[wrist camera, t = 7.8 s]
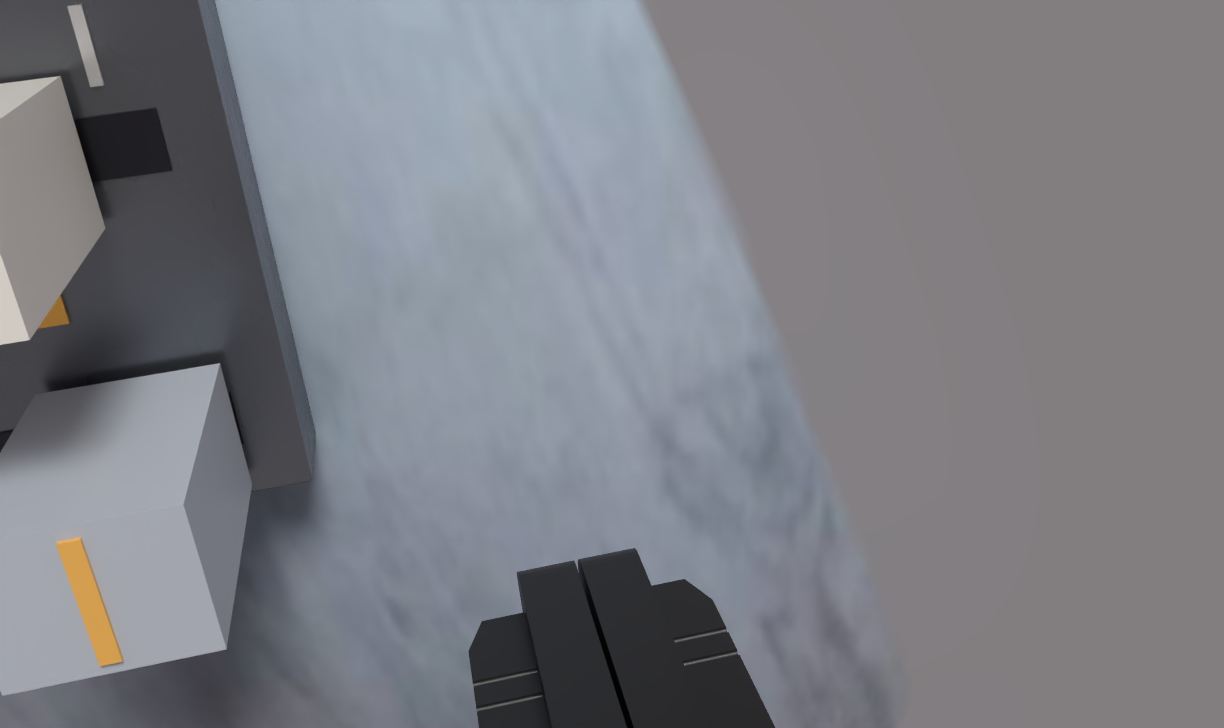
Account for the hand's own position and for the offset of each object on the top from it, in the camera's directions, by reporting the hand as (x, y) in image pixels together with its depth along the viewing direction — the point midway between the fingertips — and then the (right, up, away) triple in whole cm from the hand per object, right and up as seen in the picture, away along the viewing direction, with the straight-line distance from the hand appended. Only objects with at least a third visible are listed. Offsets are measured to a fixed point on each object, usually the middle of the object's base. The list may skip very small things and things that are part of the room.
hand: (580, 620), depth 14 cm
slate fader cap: (-8, +2, +6) cm, 10 cm away
